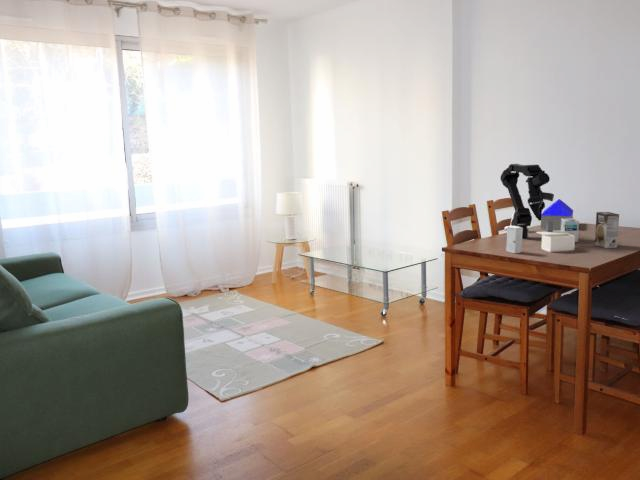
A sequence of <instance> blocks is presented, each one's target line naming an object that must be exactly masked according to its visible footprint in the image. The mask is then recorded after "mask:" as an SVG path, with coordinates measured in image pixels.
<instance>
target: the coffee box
mask: <svg viewBox="0 0 640 480" xmlns="http://www.w3.org/2000/svg"><path fill="white" fill-rule="evenodd" d="M595 215H596V218H595V235H594V238H595V239H594V245H595V246H598V247H601V248H603V249H612V248H614V249H615V248H616V249H617V248H618V240H619V224H620V213H619V214H618V213H614V212H611V211H596V213H595Z"/></svg>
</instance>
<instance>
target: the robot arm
mask: <svg viewBox="0 0 640 480" xmlns="http://www.w3.org/2000/svg"><path fill="white" fill-rule="evenodd" d="M520 173H521V174H522V175H523V176H525V177H527V179H526V180H525V183H527V187H528V195H529V197H528V199H527V204H528V207H525V205H524V202H523V200H522V197H521V193H520V191H519V189H518V185H517V184H518V181H519V180H518V179H519V178H520ZM500 181H501V183H502V185H503V186H504V187H505V188H506V189H507V190H508V194H509V197H510V200H511V203H512V206H513V208H514V211H515V213H514V212H513V213H514V218H513V217H512V218H513V220H512V219H511V220H512V221H511V220H510V224H511V226H519V227H523V233H522V239H527V238H528V237H529V228H528V227H531V223H532V219H533V217H532V214H531V212H532V213H533V214H534V216H535V218H536V219H537V220H538V221H540V222H541V215H542V213H543V210H545V209H546V203H545V201H550V202H554V199H555V198H554V197H555V194H554V193H552V192H545V191H543V190H542V189H541V187H542V186H544V185H546V184H548V183H549V182H550V176H549V174H548V173H546V172H545V170H543V169H542V168H541V167H540V165H539V164H520V163H511V164H509V165H508V167H507V168H506V169H504V170H503V171H502V173H501V175H500ZM544 200H545V201H544ZM530 209H531V211H530Z"/></svg>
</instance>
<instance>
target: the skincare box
mask: <svg viewBox="0 0 640 480" xmlns="http://www.w3.org/2000/svg"><path fill="white" fill-rule="evenodd" d="M507 226H508V227H507ZM507 226H506V227H507V232H506V248H505V251H506V252H508V253H512V254H519V253H522V249H523V247H522V245H523V238H522V233H523V227H519V226H510V225H507Z"/></svg>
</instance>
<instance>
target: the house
mask: <svg viewBox="0 0 640 480" xmlns="http://www.w3.org/2000/svg"><path fill="white" fill-rule="evenodd" d="M573 217H574V210H573V209H572V208H571V207H570V206H569V205H568V204H567V203H566V202H564V201H562V200H561V199H560V198H558V199H557V200H556V201H553V203H552V204H550V205H549V206H548V207H547V208H545V209H544V211H542V215H541V220H540V229H541V230H546V221H553V230H555V231H561V218H564V219H574V218H573Z"/></svg>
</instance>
